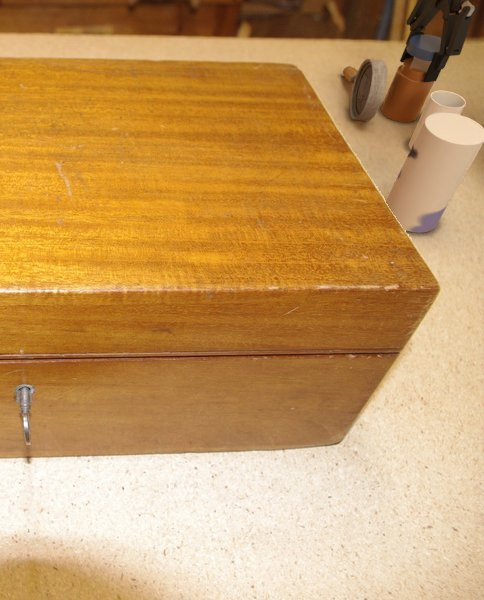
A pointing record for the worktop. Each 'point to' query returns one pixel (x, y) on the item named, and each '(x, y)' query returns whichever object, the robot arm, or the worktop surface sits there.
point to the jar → (407, 91)
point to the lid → (424, 46)
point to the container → (434, 170)
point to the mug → (439, 108)
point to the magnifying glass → (366, 88)
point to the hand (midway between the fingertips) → (417, 70)
